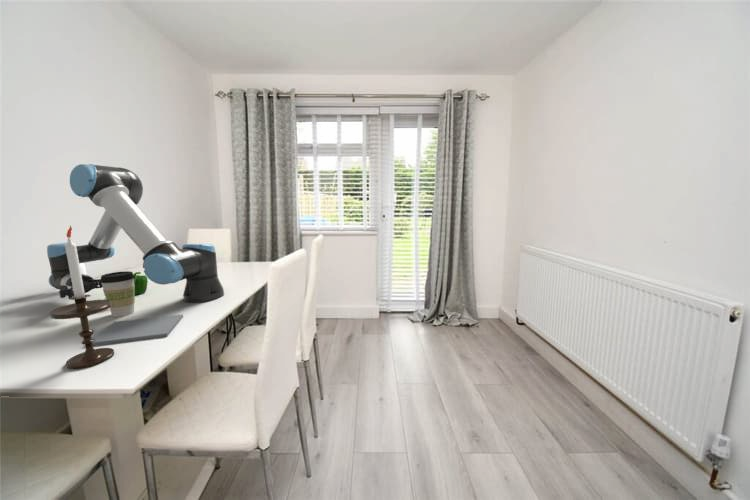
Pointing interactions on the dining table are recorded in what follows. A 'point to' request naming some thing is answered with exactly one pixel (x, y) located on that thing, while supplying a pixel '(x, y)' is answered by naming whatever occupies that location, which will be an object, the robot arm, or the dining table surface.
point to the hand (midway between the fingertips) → (107, 289)
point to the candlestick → (82, 314)
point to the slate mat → (137, 330)
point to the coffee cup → (119, 292)
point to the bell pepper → (140, 283)
